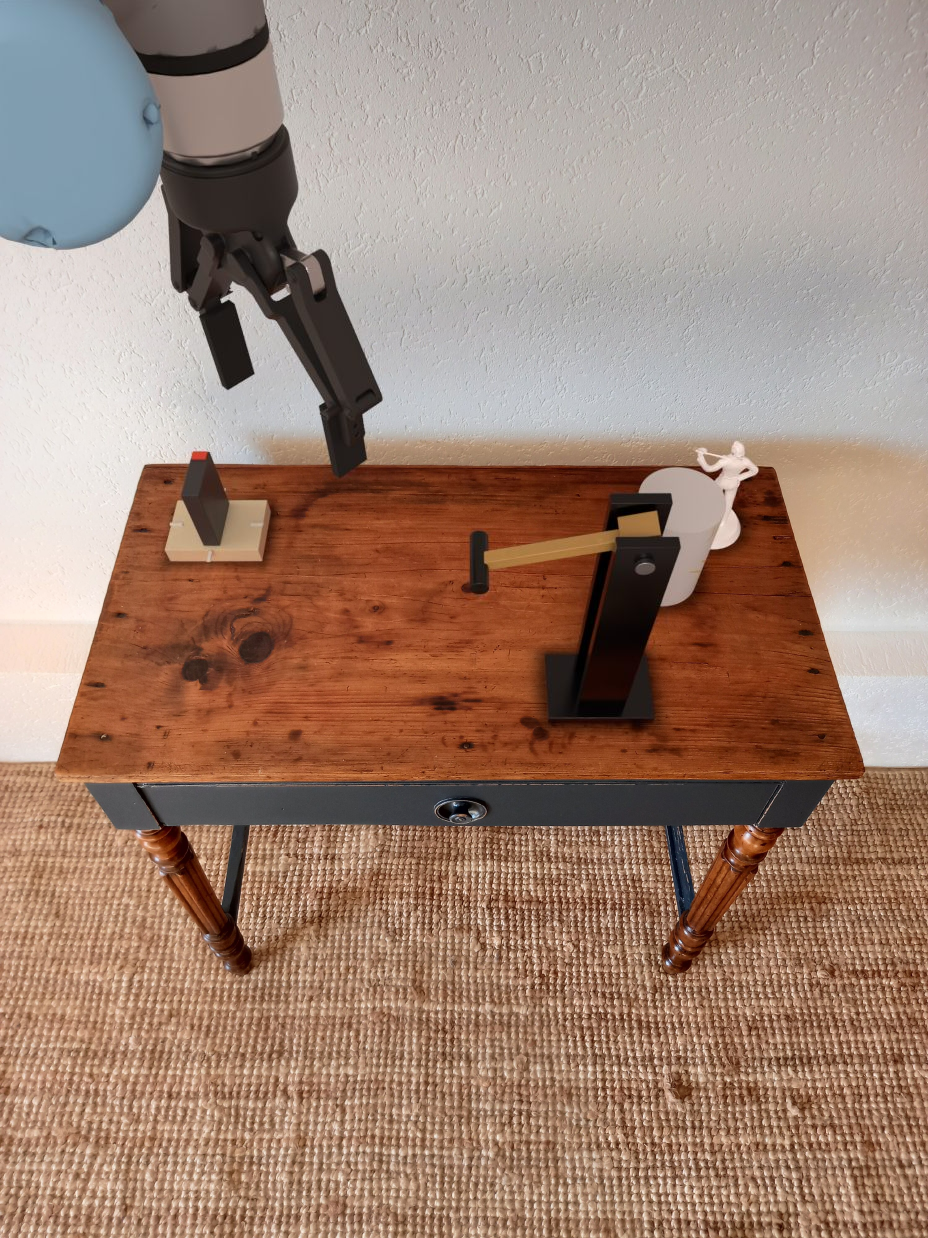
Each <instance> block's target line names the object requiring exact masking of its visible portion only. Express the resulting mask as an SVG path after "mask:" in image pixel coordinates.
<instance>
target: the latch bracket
mask: <svg viewBox="0 0 928 1238" xmlns="http://www.w3.org/2000/svg"><path fill="white" fill-rule="evenodd" d="M672 505H673V500H672V495H671V493H639V492H611V493H610V494H609V497H608V502H607V507H606V511H605V515H604V521H603V525H602V529H601V532H605V531H611V530H617V529H619V525H618V517H622V516H628V515H634V514H640V513H646V512H651V511H657V514H658V520H659V526H660V532H661V537H616V538H615V542H614V546H613V550H611V551H605V552H599V553H596V557H595V562H594V567H593V572H592V576H591V581H590V586H589V590H588V594H587V595H588V596H587V600H586V606H585V608H584V609H585V610H584V613H583V618H582V623H581V627H580V632H579V637H578V642H577V647H576V651H575V653H544V657H543V668H544V669H543V670H544V686H545V706H546V718H547V719H546V721H547V724H653V723H654V722H655V719H656V715H655V707H654V700H653V693H652V686H651V685H652V684H651V678H650V672H649V665H648V664H649V663H648V656H647V654H646V653H645V651H646V648H647V645H648V643H649V640H650V637H651V634H652V631H653V628H654V626H655V622H656V619H657V617H658V614H659V611H660V608H661V607H662V606H661V603H662V600H663V597H664V594H665V592H666V589H667V586H668V583H669V580H670V577H671V575H672V572H673V569H674V566H675V563H676V560H677V558H678V555H679V552H680V549H681V545H680V539H679V537H662V536H663V533H664V530H665V527H666V524H667V520H668V517H669V514H670V511H671V508H672Z"/></svg>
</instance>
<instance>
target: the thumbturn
mask: <svg viewBox="0 0 928 1238" xmlns="http://www.w3.org/2000/svg"><path fill="white" fill-rule="evenodd" d="M180 498H181V500H183V502H184V504H185V506H186V508H187V511H188V513H189V515H190V517H191V519H192V522H193V524H194V526H195V528H196V530H197V532H198V535H199V537H200V539H201V541H202V543H203V545H204V546H220V543H221V539H222V534H223V530H224V526H225V521H226V517H227V512H228V508H229V501H228V500H229V498H228V495H227V493H225V490H224V485H223V482H222V480H221V477H220V475H219V472H218V469H217V467H216V464H215V462H214V459H213V456H212V453H211V452H210V451H207V450H193V451H192V452H191V456H190V459H189V463H188V467H187V471H186V474H185V478H184V482H183V485H182V489H181V493H180Z"/></svg>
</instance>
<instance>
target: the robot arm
mask: <svg viewBox="0 0 928 1238" xmlns="http://www.w3.org/2000/svg"><path fill="white" fill-rule="evenodd" d="M264 3H265V2H264V0H0V238H2V239H4V240H7V241H10V242H14V243H19V244H23V245H27V246H30V247H37V248H43V249H53V250H55V251H65V250H66V251H68V250H75V249H81V248H86V247H89V246H93V245H96V244H99V243H101V242H103V241H105V240H108V239H110V238H112V237H114V236H115V235H116V234H118V233H119V232H121V231H122V230H123V229H125V228H126V227H127V226H128V225H129V224H131V222H133V221H134V220H135V218H137V216H138V215H139V214H140V212H142V210H143V208H144V207H146V204H147V203H148V202H149V200H150V199H151V198H152V194H153V192H154V190H155V188H156V186H157V183H158V180H159V177H160V180H161V183H162V184H160V191H161V195H162V199H163V201H164V206H165V209H166V213H167V225H168V247H169V268H170V269H169V270H170V271H169V272H170V281H171V285H172V287H173V289H174V290H175V291H176V292H177V293H178V294H183V293H186V294H187V300H188V303H189V305H190V307H191V308H192V309H193V311H195V312H197V313H199V315H198V318H199V321H200V325H201V327H202V330H203V333H204V336H205V339H206V342H207V345H208V348H209V351H210V354H211V356H212V360H213V363H214V366H215V370H216V372H217V375H218V378H219V380H220V384H221V387H223V388H224V389H225V390H226V391H229V390H231V389H233V388H234V387H236V386H238V385H239V384H241V383H243V382H244V381H246V380H247V379H249V378H251V377H252V376H254V375H255V374H256V373H255V369H254V366H253V363H252V358H251V356H250V351H249V349H248V344H247V341H246V337H245V334H244V331H243V328H242V323H241V321H240V317H239V313H238V309H237V306H236V303H235V302H233V301H232V300H230V299H226V300H225V301H223V302H222V299H223V298H225V297H227V296H229V295H231V294H233V293H234V291H233V290H231V289H232V287H231V286H232V284H233V283H234V284H235V285H237V286H240V287H243V288H244V289H245V290H246V291H247V292H248V293H249V294H250V295H251V296H252V298H253V299H254V300H255V302H256V304H257V306H258V308H259V309H260V310H261V312H262V314H263V316H264V317H265V318H266V319H268V320H271V321H275V322H276V323H277V325H278V326H279V328H280V330H281V332H282V333H283V335H284V337H285V338H286V340H287V342H288V343H289V345H290V346H291V348H292V350H293V351H294V354H295V355H296V357H297V358H298V360H299V361H300V363H301V365H302V367H303V368H304V370H305V372H306V373H307V375H308V377H309V378H310V381H312V383H313V385H314V387H315V388H316V390H317V392H318V394H319V395H320V397H321V398H322V401H323V402H322V403H321V404H319V405H318V410H319V415H320V419H321V424H322V428H323V433H324V438H325V442H326V447H327V452H328V458H329V462H330V466H331V471H332V472H331V473H332V474H333V475H334V476H335V477H336V478H338V479H339V480H340V479H342V478H343V477H345V476H347V474H349V473H350V472H352V471H353V470H355V469H356V468H357V467H359V466H361V464H363V463H365V462H366V461H367V460H368V455H367V448H366V443H365V436H366V428H365V423H364V422H365V421H364V414H366V413H367V412H369V411H370V410H371V409H373V408H374V407H376V406H377V405H379V404H380V403H382V402H383V400H384V398H383V394H382V391H381V389H380V386H379V384H378V382H377V379H376V377H375V375H374V372H373V370H372V368H371V365H370V363H369V361H368V359H367V356H366V354H365V352H364V349H363V347H362V344H361V342H360V340H359V337H358V335H357V333H356V330H355V328H354V326H353V323H352V321H351V319H350V316H349V314H348V311H347V309H346V306H345V304H344V302H343V299H342V298H341V297H342V296H341V295H340V293H339V290H338V287H337V283H336V278H335V274H334V270H333V266H332V260H331V258H330V257H329V254H328V253H327V252H326V251H325V250H324V249H323V248H318V249H316V250H315V251H313V252H311V253H309V254H307V253H305V252H303V251H301V250H299V249H298V247H297V244H296V241H295V239H294V237H293V235H292V233H291V229H290V227H289V223H288V222H289V221H288V220H289V217H290V214H291V212H292V209H293V207H294V205H295V203H296V201H297V198H298V196H299V195H298V194H299V179H298V174H297V169H296V165H295V159H294V153H293V149H292V142H291V137H290V132H289V130H288V128H287V126H285V124H284V119H285V110H284V104H283V99H282V94H281V89H280V83H279V78H278V74H277V73H278V72H277V68H276V64H275V58H274V47H273V46H274V45H273V42H272V41H271V37H270V33H271V32H270V28H269V27H270V26H269V22H268V18H267V17H268V16H267V14H266V9H265V8H266V7H265V4H264ZM284 289H285V290H286V292H288V294H287V295H286V296H284V297H282V298H280V299H279V300H274V299H273V298H272V296H274V295H275V294H278V293H279V292H281V291H282V290H284Z"/></svg>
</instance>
